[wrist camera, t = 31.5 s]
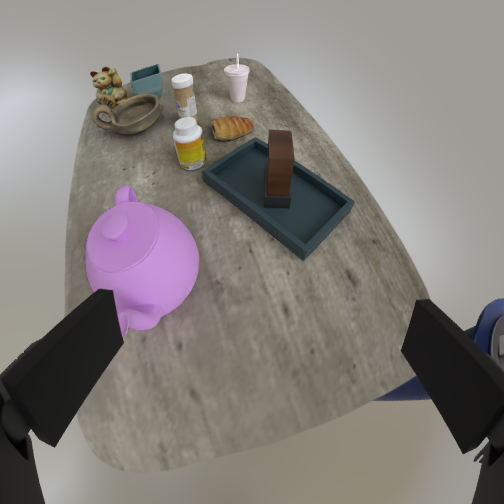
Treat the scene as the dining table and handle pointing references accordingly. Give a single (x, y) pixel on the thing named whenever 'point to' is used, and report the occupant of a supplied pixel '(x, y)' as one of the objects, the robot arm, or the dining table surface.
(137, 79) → the flower pot
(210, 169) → the tray
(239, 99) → the smoothie
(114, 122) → the bowl
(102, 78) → the decorative figurine
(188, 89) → the spice jar
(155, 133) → the dining table surface
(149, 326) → the teapot
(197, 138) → the supplement bottle
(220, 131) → the pastry
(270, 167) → the eraser
